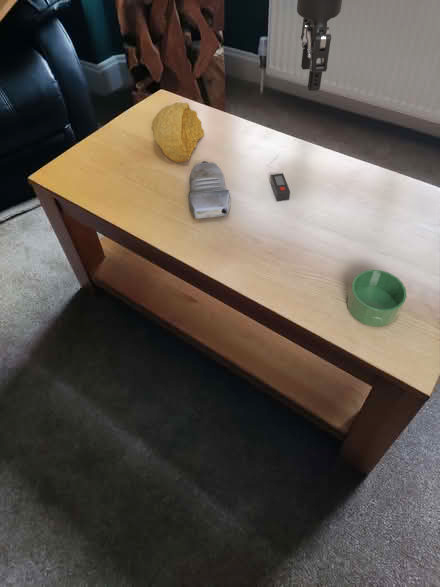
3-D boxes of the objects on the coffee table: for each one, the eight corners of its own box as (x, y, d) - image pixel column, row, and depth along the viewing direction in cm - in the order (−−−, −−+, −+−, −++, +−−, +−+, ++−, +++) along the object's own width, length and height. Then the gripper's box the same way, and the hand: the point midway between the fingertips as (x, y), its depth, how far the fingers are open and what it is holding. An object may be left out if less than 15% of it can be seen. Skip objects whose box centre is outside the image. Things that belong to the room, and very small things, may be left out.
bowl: (387, 283, 84) (394, 266, 80) (406, 322, 79) (415, 306, 75) (340, 290, 84) (345, 273, 80) (356, 330, 78) (362, 314, 74)
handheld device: (223, 165, 110) (223, 150, 106) (233, 220, 97) (233, 204, 94) (186, 169, 109) (184, 153, 106) (191, 224, 97) (189, 208, 93)
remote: (270, 182, 105) (270, 173, 103) (282, 181, 105) (283, 172, 103) (276, 201, 100) (277, 192, 98) (289, 199, 101) (290, 191, 99)
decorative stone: (132, 143, 113) (152, 116, 100) (162, 109, 119) (185, 78, 106) (169, 178, 117) (194, 156, 104) (197, 143, 123) (223, 117, 110)
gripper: (354, -5, 67) (336, 96, 80) (336, -35, 76) (322, 60, 88) (305, -2, 67) (295, 98, 80) (293, -33, 76) (286, 62, 89)
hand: (309, 78), depth 84 cm, fingers open, 8 cm apart
